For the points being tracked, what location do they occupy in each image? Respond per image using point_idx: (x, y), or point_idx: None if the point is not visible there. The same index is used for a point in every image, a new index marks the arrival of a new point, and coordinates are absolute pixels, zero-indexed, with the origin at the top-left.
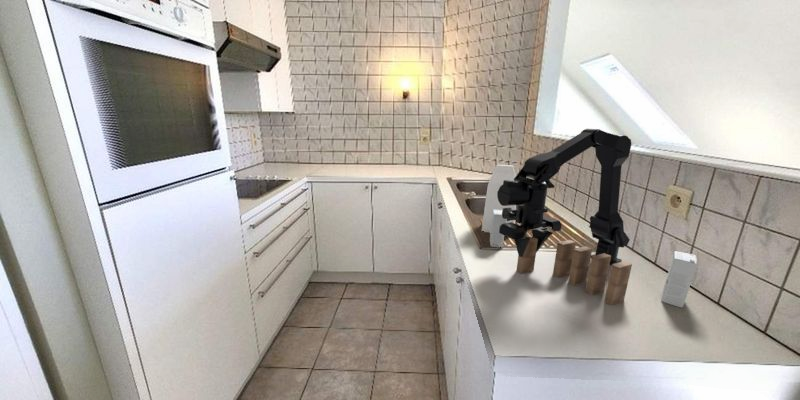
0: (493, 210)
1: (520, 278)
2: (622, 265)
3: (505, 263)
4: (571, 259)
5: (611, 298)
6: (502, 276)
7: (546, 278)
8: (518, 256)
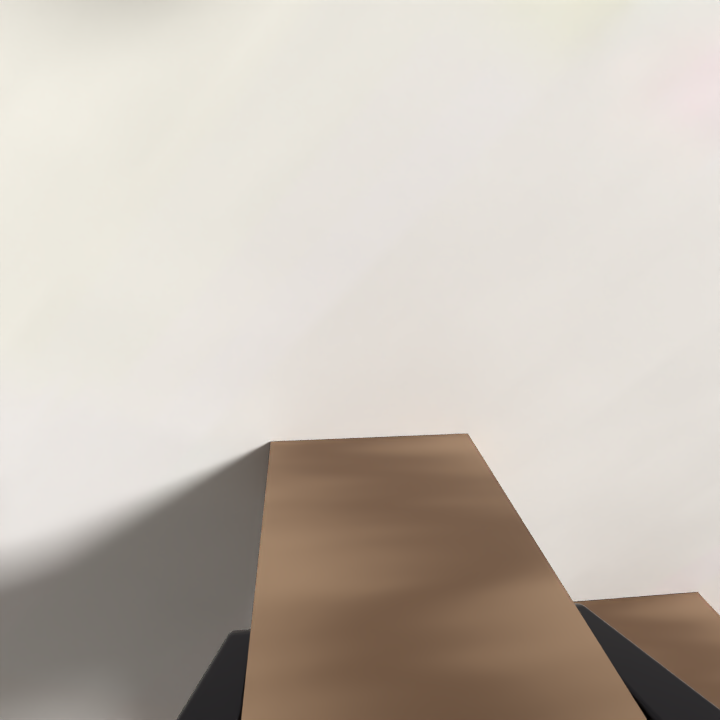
0: None
1: (186, 572)
2: None
3: (283, 232)
4: None
5: None
6: (8, 486)
7: None
8: (255, 587)
